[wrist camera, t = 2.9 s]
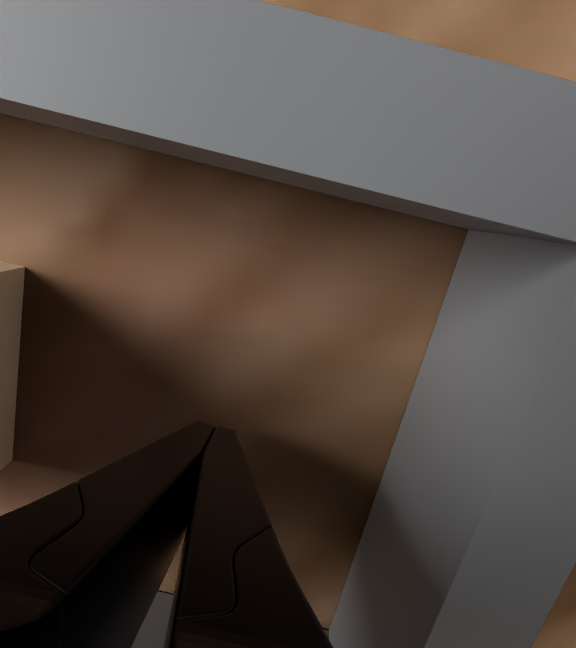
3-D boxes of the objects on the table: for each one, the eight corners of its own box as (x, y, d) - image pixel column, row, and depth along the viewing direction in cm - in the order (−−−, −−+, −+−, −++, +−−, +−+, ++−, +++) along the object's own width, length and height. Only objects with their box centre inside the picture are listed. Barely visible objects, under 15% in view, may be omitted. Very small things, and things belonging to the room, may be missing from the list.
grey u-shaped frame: (-249, 541, 12) (-525, 706, 8) (-330, -56, 8) (-940, -309, 4) (366, 681, 12) (394, 905, 8) (569, 171, 8) (800, 139, 4)
